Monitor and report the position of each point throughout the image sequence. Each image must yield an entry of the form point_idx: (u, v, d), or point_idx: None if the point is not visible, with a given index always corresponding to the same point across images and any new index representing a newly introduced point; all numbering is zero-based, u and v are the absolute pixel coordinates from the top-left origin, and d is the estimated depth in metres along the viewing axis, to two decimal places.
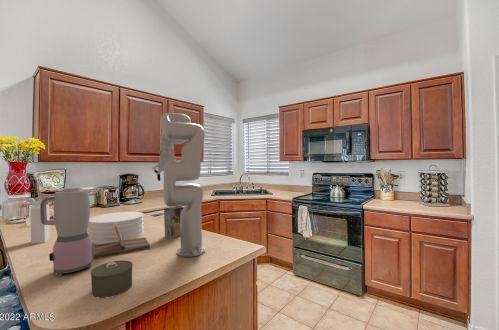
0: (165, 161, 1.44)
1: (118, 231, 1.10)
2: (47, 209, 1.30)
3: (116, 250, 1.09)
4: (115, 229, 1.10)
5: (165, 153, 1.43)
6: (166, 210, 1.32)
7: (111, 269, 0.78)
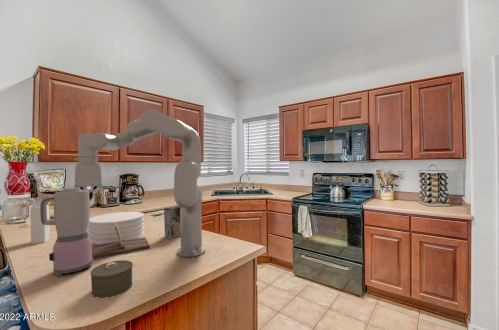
0: (83, 172, 1.05)
1: (118, 231, 1.10)
2: (47, 209, 1.30)
3: (116, 250, 1.09)
4: (115, 229, 1.10)
5: (83, 161, 1.05)
6: (166, 210, 1.32)
7: (111, 269, 0.78)
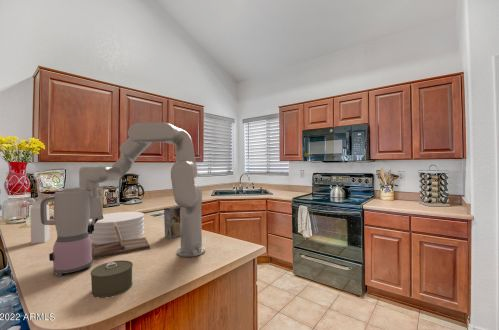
0: None
1: (118, 231, 1.10)
2: (47, 209, 1.30)
3: (116, 250, 1.09)
4: (115, 229, 1.10)
5: None
6: (166, 210, 1.32)
7: (111, 269, 0.78)
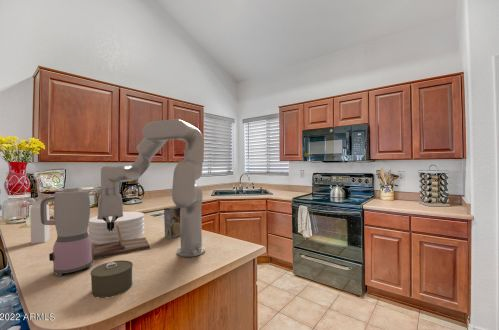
0: (106, 204, 1.10)
1: (119, 231, 1.11)
2: (47, 209, 1.30)
3: (116, 250, 1.09)
4: (117, 228, 1.10)
5: (106, 194, 1.09)
6: (166, 210, 1.32)
7: (111, 269, 0.78)
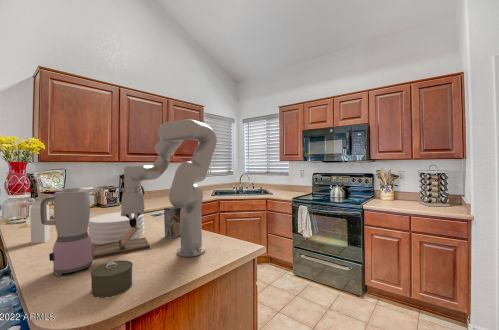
0: (129, 202, 1.15)
1: (134, 233, 1.14)
2: (47, 209, 1.30)
3: (116, 250, 1.09)
4: (135, 229, 1.14)
5: (129, 192, 1.14)
6: (166, 210, 1.32)
7: (111, 269, 0.78)
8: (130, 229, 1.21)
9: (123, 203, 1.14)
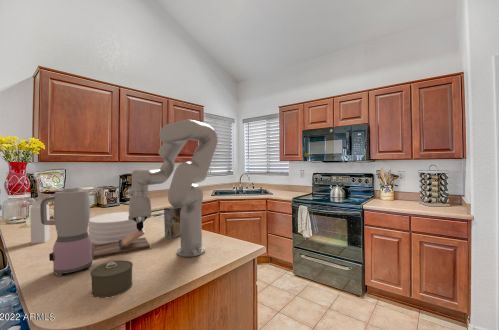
0: (137, 205, 1.17)
1: (138, 237, 1.15)
2: (47, 209, 1.30)
3: (116, 250, 1.09)
4: (140, 234, 1.15)
5: (137, 196, 1.16)
6: (166, 210, 1.32)
7: (111, 269, 0.78)
8: (134, 232, 1.22)
9: (131, 207, 1.16)
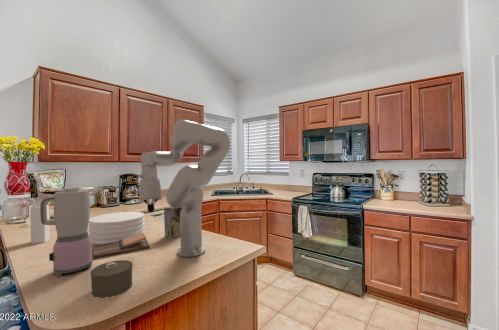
0: (147, 187, 1.19)
1: None
2: (47, 209, 1.30)
3: (116, 250, 1.09)
4: (142, 238, 1.16)
5: (147, 177, 1.18)
6: (166, 210, 1.32)
7: (111, 269, 0.78)
8: (136, 235, 1.22)
9: (141, 188, 1.18)
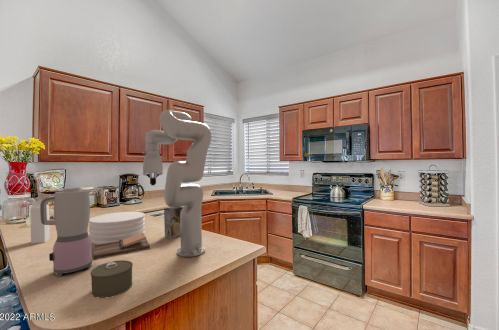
0: (150, 162, 1.33)
1: None
2: (47, 209, 1.30)
3: (116, 250, 1.09)
4: (142, 238, 1.16)
5: (150, 154, 1.33)
6: (166, 210, 1.32)
7: (111, 269, 0.78)
8: (136, 235, 1.22)
9: (145, 163, 1.32)
